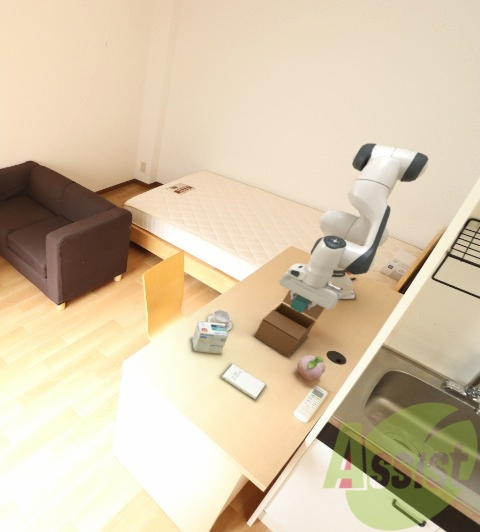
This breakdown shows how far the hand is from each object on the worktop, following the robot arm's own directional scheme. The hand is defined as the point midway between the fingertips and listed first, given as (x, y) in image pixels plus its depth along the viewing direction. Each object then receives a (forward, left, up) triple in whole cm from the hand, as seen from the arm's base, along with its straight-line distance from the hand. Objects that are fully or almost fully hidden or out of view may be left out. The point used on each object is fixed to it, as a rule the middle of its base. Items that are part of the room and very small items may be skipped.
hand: (299, 304), depth 140 cm
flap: (-4, -5, -2) cm, 7 cm away
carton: (+2, +3, -16) cm, 17 cm away
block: (0, 0, -2) cm, 2 cm away
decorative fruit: (-1, +22, -16) cm, 27 cm away
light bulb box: (+34, +14, -16) cm, 41 cm away
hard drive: (+23, +29, -16) cm, 41 cm away
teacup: (+27, -1, -16) cm, 31 cm away
